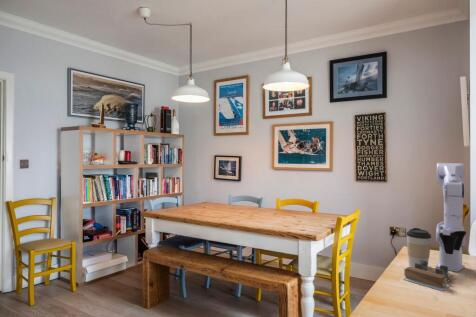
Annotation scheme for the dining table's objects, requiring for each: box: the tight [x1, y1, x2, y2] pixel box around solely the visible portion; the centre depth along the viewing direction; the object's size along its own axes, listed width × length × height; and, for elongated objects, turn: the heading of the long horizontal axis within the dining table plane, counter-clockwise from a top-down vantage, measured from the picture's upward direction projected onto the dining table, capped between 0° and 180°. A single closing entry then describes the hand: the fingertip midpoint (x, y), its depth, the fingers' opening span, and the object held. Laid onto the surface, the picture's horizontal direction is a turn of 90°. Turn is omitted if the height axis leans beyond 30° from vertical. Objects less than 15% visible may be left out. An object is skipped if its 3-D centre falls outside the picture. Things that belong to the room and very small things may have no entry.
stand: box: [415, 260, 451, 282], centre depth 124 cm, size 6×11×4 cm, turn 41°
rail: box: [404, 266, 448, 288], centre depth 119 cm, size 3×13×3 cm, turn 40°
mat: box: [403, 278, 451, 292], centre depth 118 cm, size 7×13×1 cm, turn 41°
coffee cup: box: [406, 227, 432, 268], centre depth 136 cm, size 9×9×15 cm
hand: (452, 251), depth 121 cm, fingers open, 7 cm apart
